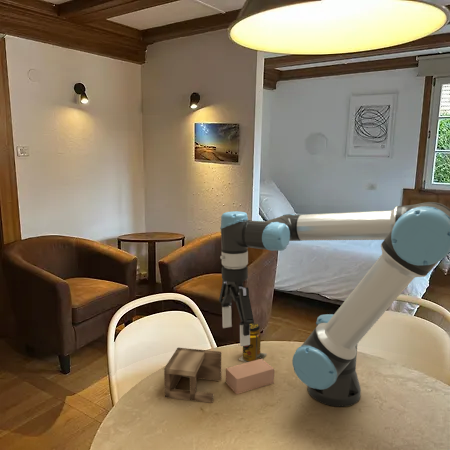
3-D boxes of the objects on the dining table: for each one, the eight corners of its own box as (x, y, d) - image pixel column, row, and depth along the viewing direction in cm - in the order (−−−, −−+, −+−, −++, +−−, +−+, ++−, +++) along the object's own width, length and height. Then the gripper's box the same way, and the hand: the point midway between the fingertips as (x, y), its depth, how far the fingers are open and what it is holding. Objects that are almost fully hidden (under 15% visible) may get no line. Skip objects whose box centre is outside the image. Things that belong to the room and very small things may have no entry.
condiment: (237, 360, 142) (238, 327, 140) (248, 349, 149) (248, 318, 147) (257, 365, 138) (258, 331, 136) (267, 354, 146) (268, 322, 144)
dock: (221, 378, 130) (221, 351, 129) (212, 402, 118) (212, 373, 116) (178, 373, 133) (177, 347, 131) (164, 397, 120) (164, 368, 119)
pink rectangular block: (261, 373, 134) (261, 358, 133) (273, 383, 128) (274, 368, 127) (225, 383, 128) (225, 368, 127) (236, 394, 122) (236, 379, 121)
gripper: (208, 257, 130) (209, 322, 133) (240, 278, 107) (240, 356, 110) (230, 255, 132) (231, 318, 136) (266, 275, 109) (266, 351, 113)
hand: (235, 335), depth 123 cm, fingers open, 13 cm apart
